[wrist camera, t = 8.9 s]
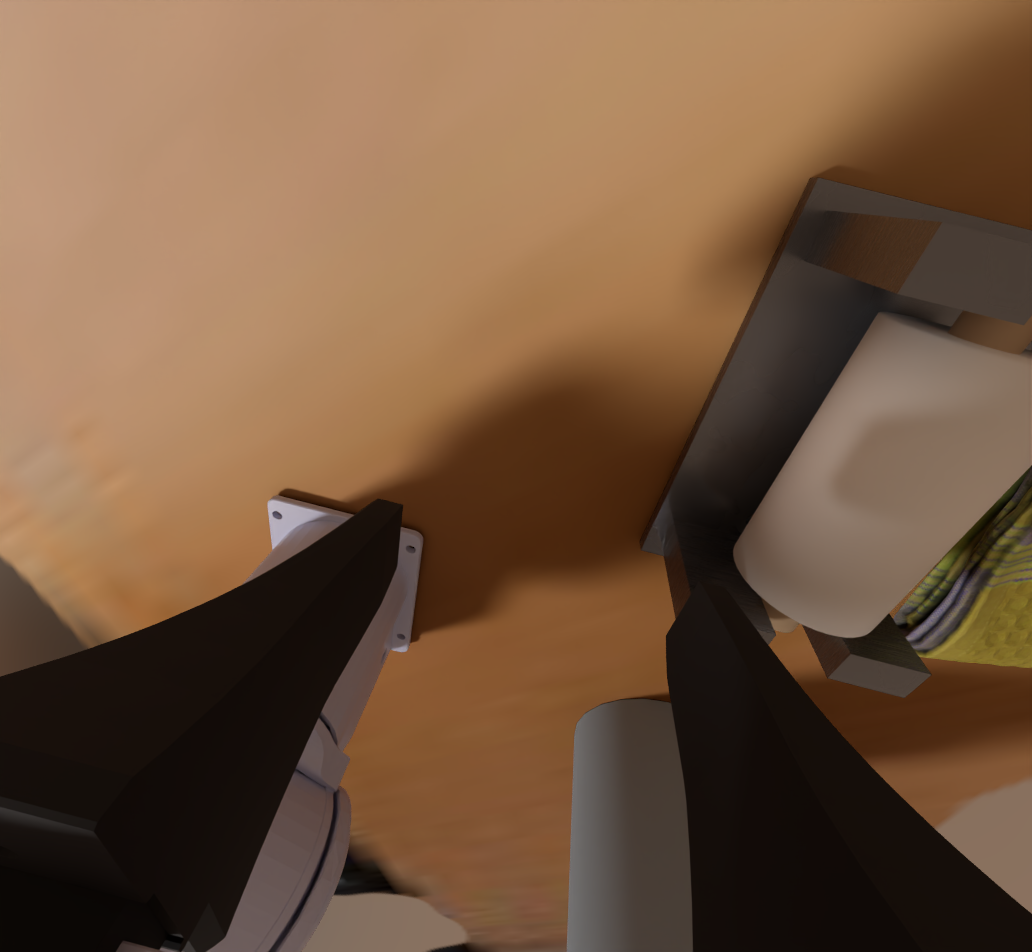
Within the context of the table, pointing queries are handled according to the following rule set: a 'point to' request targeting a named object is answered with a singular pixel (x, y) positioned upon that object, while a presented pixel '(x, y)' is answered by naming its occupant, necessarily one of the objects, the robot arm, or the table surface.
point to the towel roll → (891, 470)
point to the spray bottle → (629, 833)
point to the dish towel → (980, 590)
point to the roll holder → (823, 382)
